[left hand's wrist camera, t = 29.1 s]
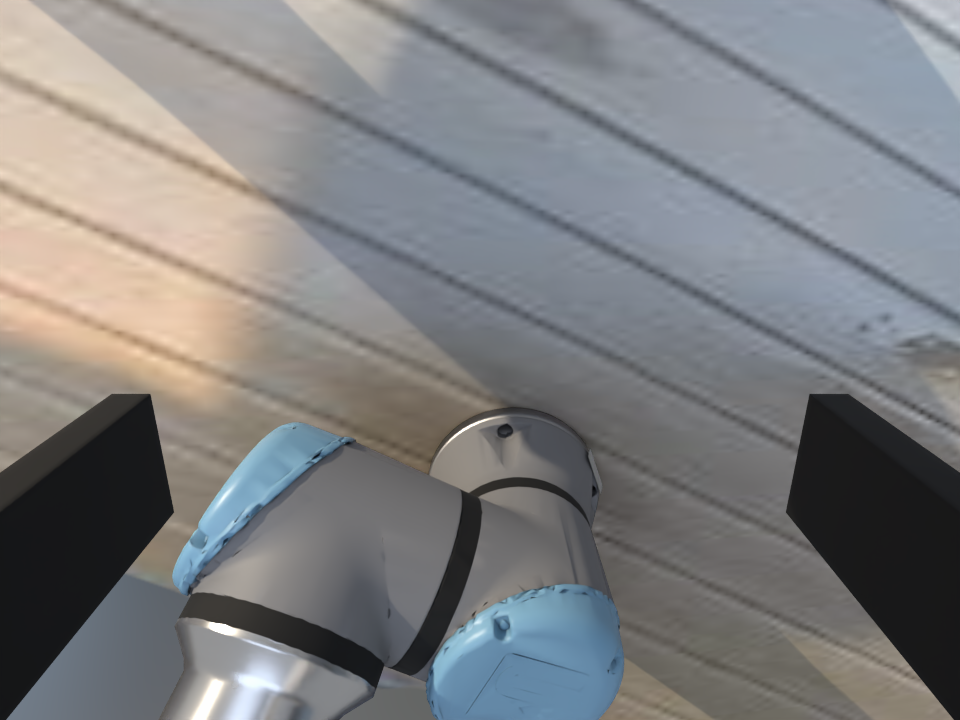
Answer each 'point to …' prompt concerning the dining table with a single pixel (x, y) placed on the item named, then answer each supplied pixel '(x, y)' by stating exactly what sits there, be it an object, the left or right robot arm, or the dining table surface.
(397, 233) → the dining table surface
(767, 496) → the dining table surface
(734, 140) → the dining table surface
